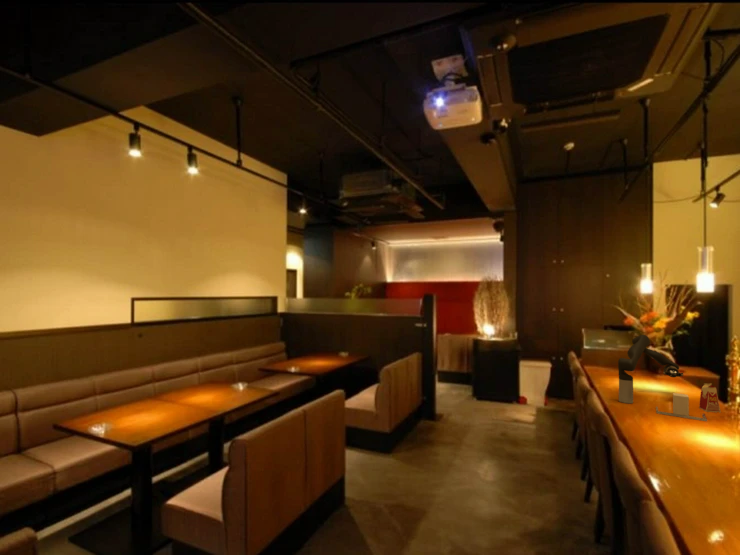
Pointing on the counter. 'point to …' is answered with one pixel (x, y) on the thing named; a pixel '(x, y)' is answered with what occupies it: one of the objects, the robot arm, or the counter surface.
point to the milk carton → (709, 399)
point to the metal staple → (681, 415)
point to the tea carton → (680, 404)
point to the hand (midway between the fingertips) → (673, 375)
